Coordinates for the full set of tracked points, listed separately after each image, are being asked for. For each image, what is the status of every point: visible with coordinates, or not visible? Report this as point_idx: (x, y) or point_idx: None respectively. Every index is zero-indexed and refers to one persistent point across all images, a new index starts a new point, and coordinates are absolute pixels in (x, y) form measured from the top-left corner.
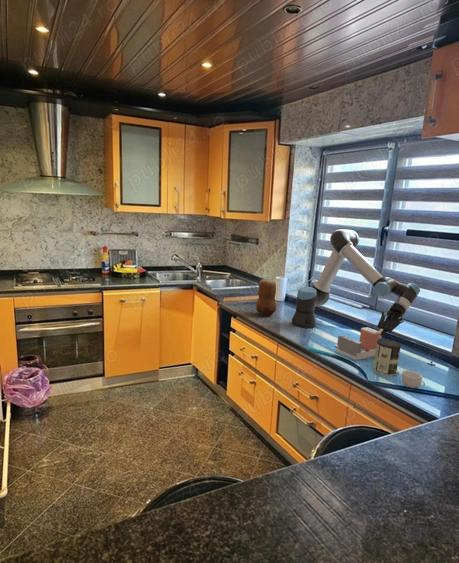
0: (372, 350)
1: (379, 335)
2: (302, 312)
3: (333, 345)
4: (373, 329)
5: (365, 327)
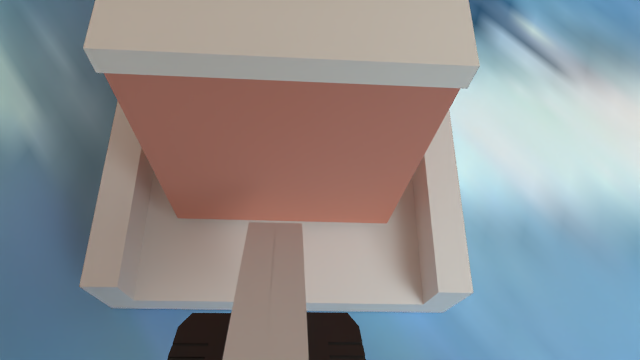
0: None
1: (118, 97)
2: None
3: (534, 7)
4: (286, 44)
5: (467, 6)
